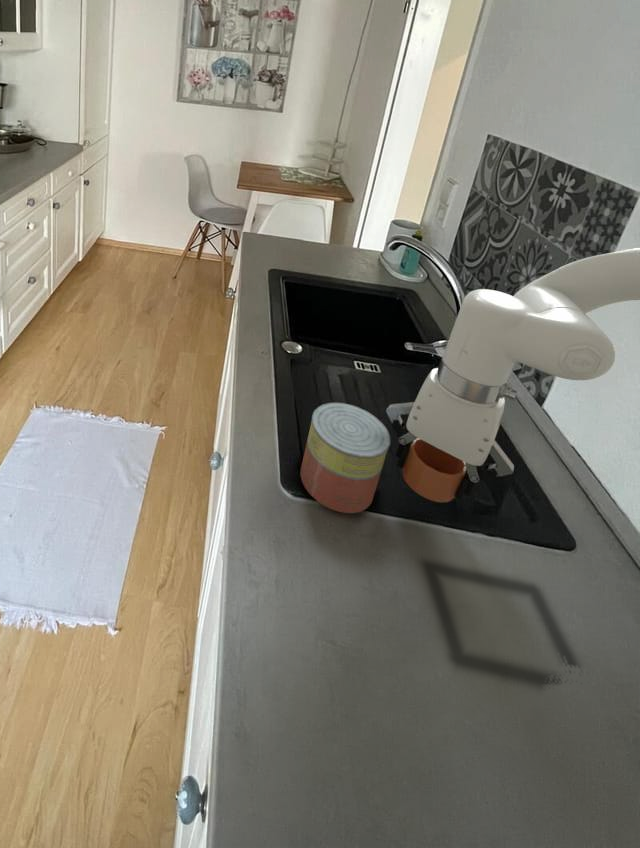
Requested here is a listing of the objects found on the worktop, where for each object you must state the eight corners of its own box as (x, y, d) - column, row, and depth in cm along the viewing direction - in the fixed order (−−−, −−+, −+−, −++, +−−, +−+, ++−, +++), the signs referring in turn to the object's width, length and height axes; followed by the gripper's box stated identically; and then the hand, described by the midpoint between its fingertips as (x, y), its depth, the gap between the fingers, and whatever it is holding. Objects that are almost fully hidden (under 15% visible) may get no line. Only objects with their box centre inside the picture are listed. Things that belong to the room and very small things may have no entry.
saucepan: (449, 512, 69) (460, 485, 67) (395, 481, 73) (405, 455, 71) (468, 459, 79) (479, 434, 77) (420, 434, 83) (429, 410, 81)
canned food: (375, 476, 82) (392, 418, 78) (369, 530, 73) (388, 468, 68) (306, 450, 87) (318, 393, 82) (291, 498, 77) (305, 437, 73)
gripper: (550, 398, 64) (501, 498, 71) (409, 340, 74) (378, 432, 81) (544, 428, 59) (493, 533, 66) (393, 361, 69) (362, 458, 76)
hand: (430, 476), depth 73 cm, fingers closed on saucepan, 7 cm apart
